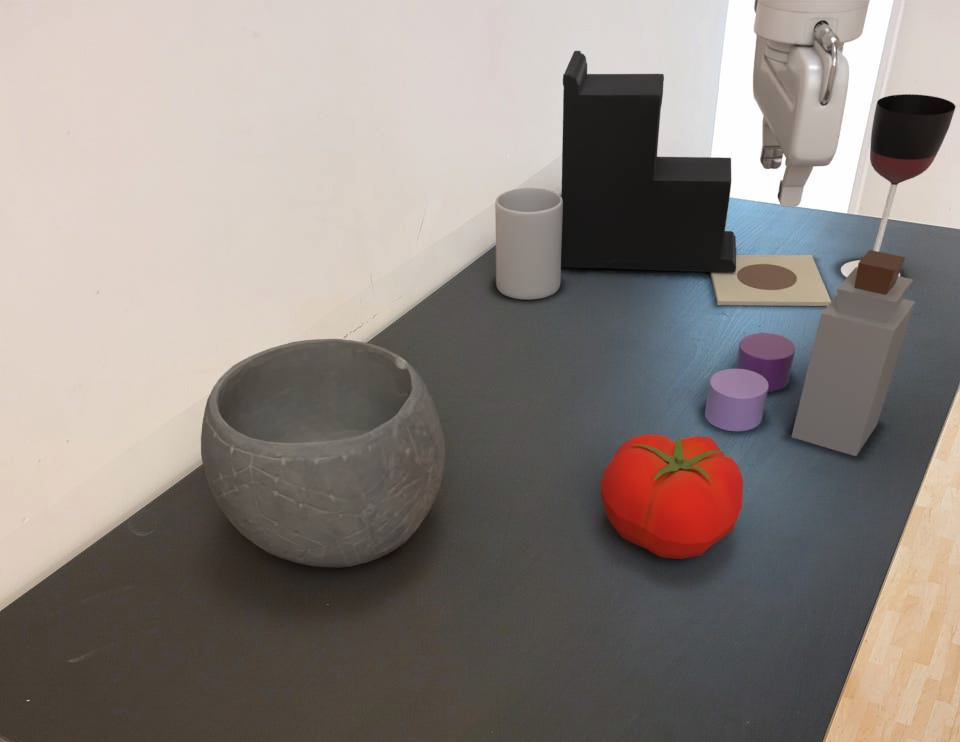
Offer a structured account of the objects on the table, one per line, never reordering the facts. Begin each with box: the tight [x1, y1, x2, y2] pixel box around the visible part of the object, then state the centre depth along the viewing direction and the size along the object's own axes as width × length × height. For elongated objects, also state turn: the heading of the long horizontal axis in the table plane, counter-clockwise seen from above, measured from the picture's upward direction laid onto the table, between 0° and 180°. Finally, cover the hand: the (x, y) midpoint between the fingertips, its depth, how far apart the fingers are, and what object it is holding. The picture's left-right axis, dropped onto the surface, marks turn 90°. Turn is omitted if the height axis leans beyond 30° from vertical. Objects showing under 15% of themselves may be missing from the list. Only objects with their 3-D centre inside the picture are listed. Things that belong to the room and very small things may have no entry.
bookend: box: [560, 50, 737, 273], centre depth 120 cm, size 23×11×24 cm, turn 79°
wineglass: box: [840, 93, 957, 278], centre depth 117 cm, size 8×9×20 cm
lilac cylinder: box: [704, 368, 769, 432], centre depth 99 cm, size 6×6×4 cm
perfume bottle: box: [791, 249, 916, 457], centre depth 91 cm, size 7×7×18 cm
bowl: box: [200, 338, 447, 569], centre depth 83 cm, size 21×21×15 cm
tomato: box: [599, 433, 744, 560], centre depth 84 cm, size 14×13×9 cm
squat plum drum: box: [734, 332, 797, 393], centre depth 104 cm, size 6×6×4 cm
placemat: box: [709, 254, 832, 307], centre depth 122 cm, size 14×14×1 cm
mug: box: [494, 187, 563, 301], centre depth 121 cm, size 12×8×11 cm
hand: (778, 184), depth 87 cm, fingers open, 8 cm apart
